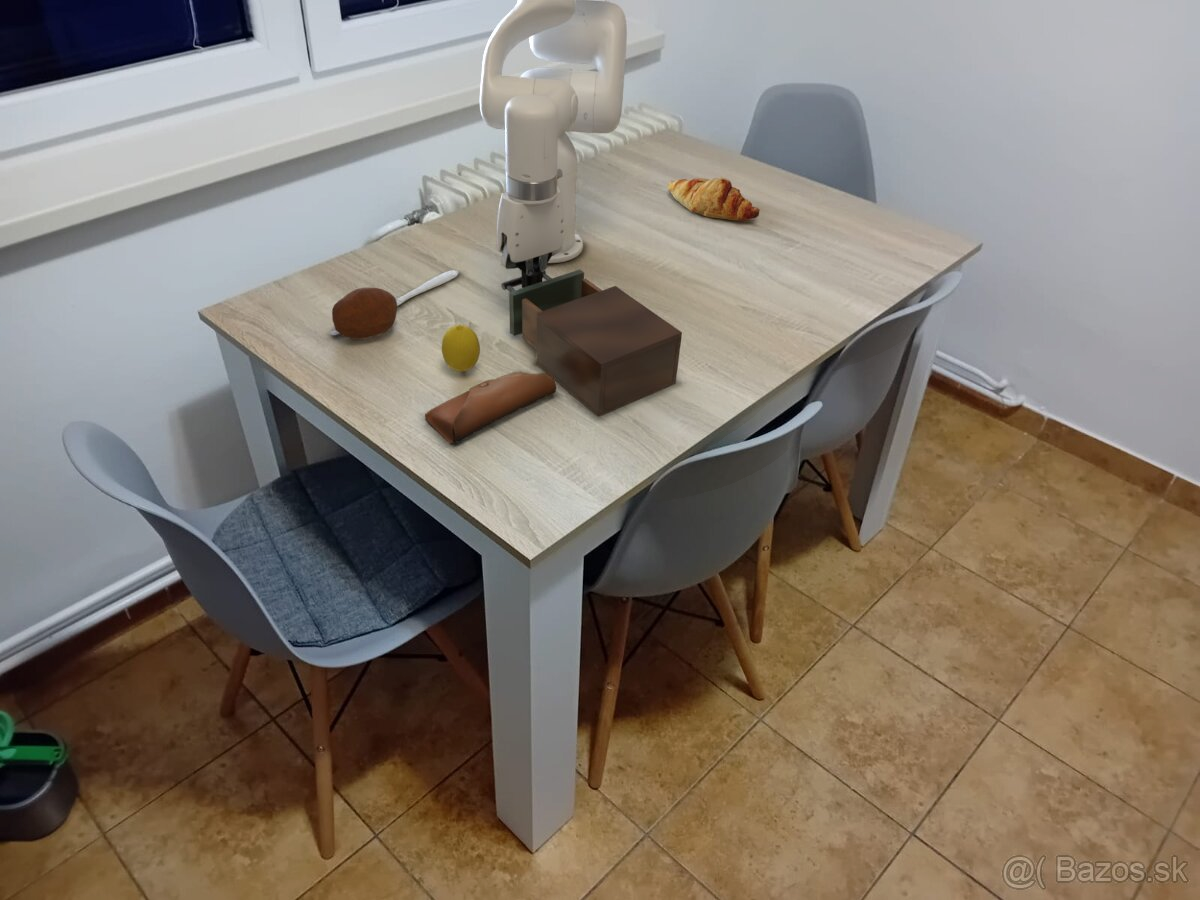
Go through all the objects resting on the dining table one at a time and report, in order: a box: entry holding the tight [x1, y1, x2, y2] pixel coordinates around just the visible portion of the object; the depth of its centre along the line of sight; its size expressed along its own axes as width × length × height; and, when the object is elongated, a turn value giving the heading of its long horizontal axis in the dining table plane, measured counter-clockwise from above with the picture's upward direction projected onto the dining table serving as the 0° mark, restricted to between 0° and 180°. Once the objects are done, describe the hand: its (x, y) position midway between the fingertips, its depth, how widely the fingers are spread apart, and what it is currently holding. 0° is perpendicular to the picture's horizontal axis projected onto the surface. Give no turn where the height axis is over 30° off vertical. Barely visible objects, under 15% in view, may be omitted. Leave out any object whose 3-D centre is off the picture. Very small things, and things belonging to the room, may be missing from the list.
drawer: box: [500, 268, 603, 350], centre depth 141 cm, size 21×13×7 cm, turn 37°
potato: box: [331, 286, 398, 340], centre depth 140 cm, size 8×11×8 cm
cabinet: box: [536, 285, 683, 418], centre depth 134 cm, size 16×15×9 cm
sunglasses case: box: [424, 371, 557, 445], centre depth 128 cm, size 18×7×7 cm
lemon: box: [441, 324, 481, 373], centre depth 133 cm, size 6×6×8 cm
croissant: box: [667, 177, 761, 222], centre depth 180 cm, size 21×10×8 cm
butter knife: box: [329, 269, 459, 336], centre depth 149 cm, size 1×27×3 cm
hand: (532, 292), depth 146 cm, fingers closed
